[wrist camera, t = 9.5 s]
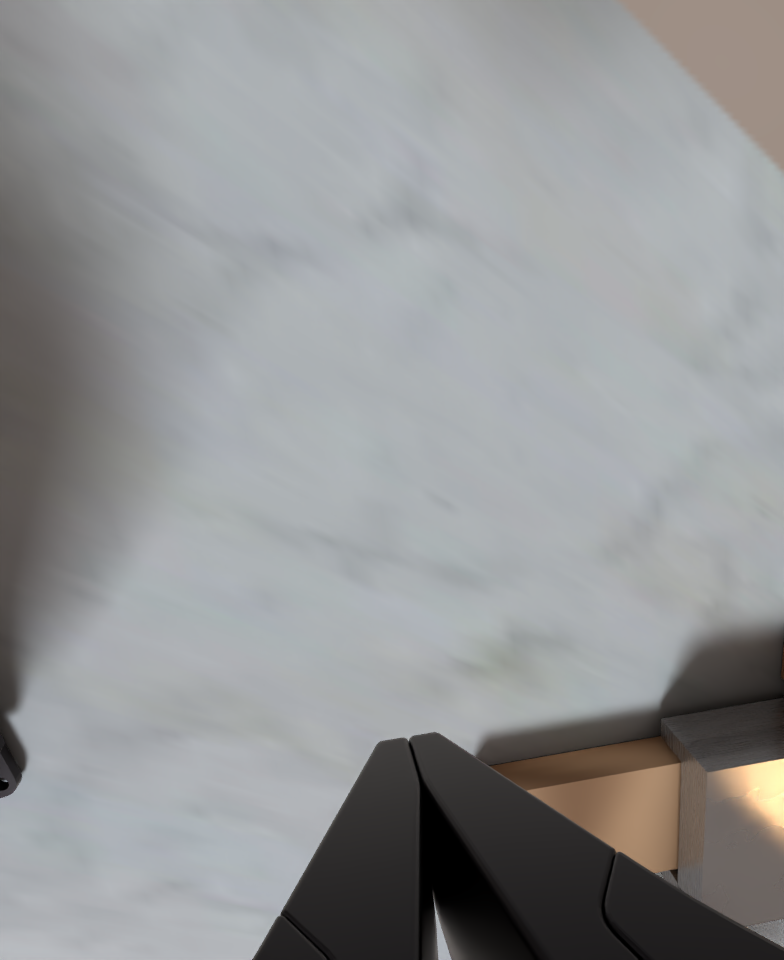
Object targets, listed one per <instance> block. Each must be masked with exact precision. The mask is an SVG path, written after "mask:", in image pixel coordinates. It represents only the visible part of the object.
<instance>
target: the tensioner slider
mask: <svg viewBox="0 0 784 960" xmlns="http://www.w3.org/2000/svg"><path fill="white" fill-rule="evenodd" d="M661 737H662V739H663V740H664V741H665V742H666V743H667V745H668V746H669V747H670V748H671V750H672V751H673V752H674V753H675V754H676V756H677V757H678V758H679V759H680V761H681V787H680V820H679V853H678V869H673V870H668V871H663V872H661V874H662V875H663V877H664V879H665V880H666V881H668V882H669V883H671V884H672V885H674V886H676V887H677V888H679V889H681V890H682V891H684V892H685V893H687V894H689V895H690V896H692V897H693V898H695V899H697V900H699V901H700V902H702V903H704V904H706V905H707V906H709V907H711V908H713V909H715V910H716V911H718V912H720V913H722V914H724V915H725V916H727V917H729V918H731V919H732V920H734V921H736V922H738V923H740V924H741V925H743V926H750V925H755V924H760V923H764V922H769V921H774V920H779V919H784V698H778V699H773V700H767V701H761V702H755V703H749V704H744V705H738V706H732V707H726V708H720V709H715V710H709V711H703V712H697V713H691V714H686V715H680V716H674V717H668V718H662V719H661Z"/></svg>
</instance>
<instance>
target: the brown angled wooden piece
mask: <svg viewBox="0 0 784 960" xmlns="http://www.w3.org/2000/svg"><path fill="white" fill-rule="evenodd" d="M781 678H782V679H783V680H784V646H783V659H782V672H781ZM490 767H491V768H493V769H494V770H496V771H497V772H499V773H500V774H502V775H503V776H505V777H506V778H508V779H509V780H511V781H512V782H514V783H515V784H517V785H518V786H520V787H522V788H523V789H525V790H526V791H528V792H529V793H531V794H532V795H534V796H535V797H537V798H538V799H540V800H541V801H543V802H544V803H546V804H547V805H549V806H550V807H552V808H553V809H555V810H556V811H558V812H559V813H561V814H563V815H564V816H566V817H567V818H569V819H570V820H572V821H573V822H575V823H576V824H578V825H579V826H581V827H582V828H584V829H585V830H587V831H588V832H590V833H591V834H593V835H594V836H596V837H597V838H599V839H601V840H602V841H604V842H605V843H607V844H608V845H610V846H611V847H613V848H614V849H615V850H616V853H617V852H622V853H624V854H625V855H627V856H628V857H630V858H631V859H633V860H635V861H636V862H638V863H639V864H641V865H642V866H644V867H645V868H647V869H648V870H650V871H652V872H653V873H657V872H663V871H668V870H673V869H678V853H679V820H680V787H681V761H680V759H679V758H678V757H677V756H676V754H675V753H674V752H673V751H672V750H671V748H670V747H669V746H668V745H667V743H666V742H665V741H664V740H663V739H662V737H661V736H659V737H653V738H647V739H641V740H636V741H630V742H624V743H619V744H613V745H607V746H601V747H596V748H590V749H584V750H579V751H573V752H567V753H561V754H556V755H550V756H544V757H539V758H533V759H527V760H521V761H516V762H510V763H504V764H499V765H493V766H490Z"/></svg>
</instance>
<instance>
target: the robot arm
mask: <svg viewBox="0 0 784 960" xmlns="http://www.w3.org/2000/svg"><path fill="white" fill-rule="evenodd" d="M0 778H3V779H6V780H7V781H8V782H4V781H2V780H0V798H2V797H5V796H8V795H10V794H12V793H13V792H14V791H15V789H16V788H17V786H18V785H19V783H20V782H21V779H22V774H21V771H20V769H19V767H18V765H17V764H16V762H15V760H14V758H13V757H12V755H11V753H10V751H9V749H8V748H7V746H6V744H5V741H4V739H3V737H2V735H1V734H0ZM433 897H434V899H433ZM434 901H435V906H436V910H437V914H438V917H439V921H440V924H441V928H442V931H443V934H444V937H445V940H446V943H447V946H448V950H449V953H450V956H451V959H452V960H784V947H782V946H780V945H778V944H776V943H774V942H772V941H770V940H769V939H767V938H765V937H763V936H761V935H759V934H757V933H756V932H754V931H752V930H750V929H748V928H747V927H745V926H743V925H741V924H740V923H738V922H736V921H734V920H732V919H731V918H729V917H727V916H725V915H724V914H722V913H720V912H718V911H716V910H715V909H713V908H711V907H709V906H707V905H706V904H704V903H702V902H700V901H699V900H697V899H695V898H693V897H692V896H690V895H689V894H687V893H685V892H684V891H682V890H681V889H679V888H677V887H676V886H674V885H672V884H671V883H669V882H668V881H666V880H664V879H663V878H661V877H660V876H658V875H656V874H655V873H653V872H652V871H650V870H648V869H647V868H645V867H644V866H642V865H641V864H639V863H638V862H636V861H635V860H633V859H631V858H630V857H628V856H627V855H625V854H624V853H622V852H617V853H616V850H615V849H614V848H613V847H611V846H610V845H608V844H607V843H605V842H604V841H602V840H601V839H599V838H597V837H596V836H594V835H593V834H591V833H590V832H588V831H587V830H585V829H584V828H582V827H581V826H579V825H578V824H576V823H575V822H573V821H572V820H570V819H569V818H567V817H566V816H564V815H563V814H561V813H559V812H558V811H556V810H555V809H553V808H552V807H550V806H549V805H547V804H546V803H544V802H543V801H541V800H540V799H538V798H537V797H535V796H534V795H532V794H531V793H529V792H528V791H526V790H525V789H523V788H522V787H520V786H518V785H517V784H515V783H514V782H512V781H511V780H509V779H508V778H506V777H505V776H503V775H502V774H500V773H499V772H497V771H496V770H494V769H493V768H491V767H490V766H488V765H487V764H485V763H484V762H482V761H480V760H479V759H477V758H476V757H474V756H473V755H471V754H470V753H468V752H467V751H465V750H464V749H462V748H461V747H459V746H458V745H456V744H455V743H453V742H452V741H450V740H449V739H447V738H446V737H444V736H443V735H441V734H439V733H436V732H433V733H427V734H421V735H415V736H412V737H411V738H410V739H409V742H408V740H407V739H406V738H397V739H391V740H385V741H380V742H379V743H378V744H377V745H376V747H375V749H374V750H373V752H372V754H371V756H370V757H369V759H368V761H367V763H366V764H365V766H364V768H363V770H362V772H361V773H360V775H359V777H358V779H357V780H356V782H355V784H354V786H353V787H352V789H351V791H350V793H349V794H348V796H347V798H346V800H345V801H344V803H343V805H342V807H341V808H340V810H339V812H338V814H337V815H336V817H335V819H334V821H333V822H332V824H331V826H330V828H329V829H328V831H327V833H326V835H325V836H324V838H323V840H322V842H321V843H320V845H319V847H318V849H317V850H316V852H315V854H314V856H313V857H312V859H311V861H310V863H309V864H308V866H307V868H306V870H305V871H304V873H303V875H302V877H301V878H300V880H299V882H298V884H297V885H296V887H295V889H294V891H293V892H292V894H291V896H290V898H289V899H288V901H287V903H286V905H285V906H284V908H283V910H282V912H281V916H278V917H277V918H276V920H275V922H274V924H273V925H272V927H271V929H270V931H269V932H268V934H267V936H266V938H265V939H264V941H263V943H262V945H261V946H260V948H259V950H258V951H257V953H256V954H255V956H254V958H253V959H252V960H438V946H437V930H436V919H435V908H434Z"/></svg>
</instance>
